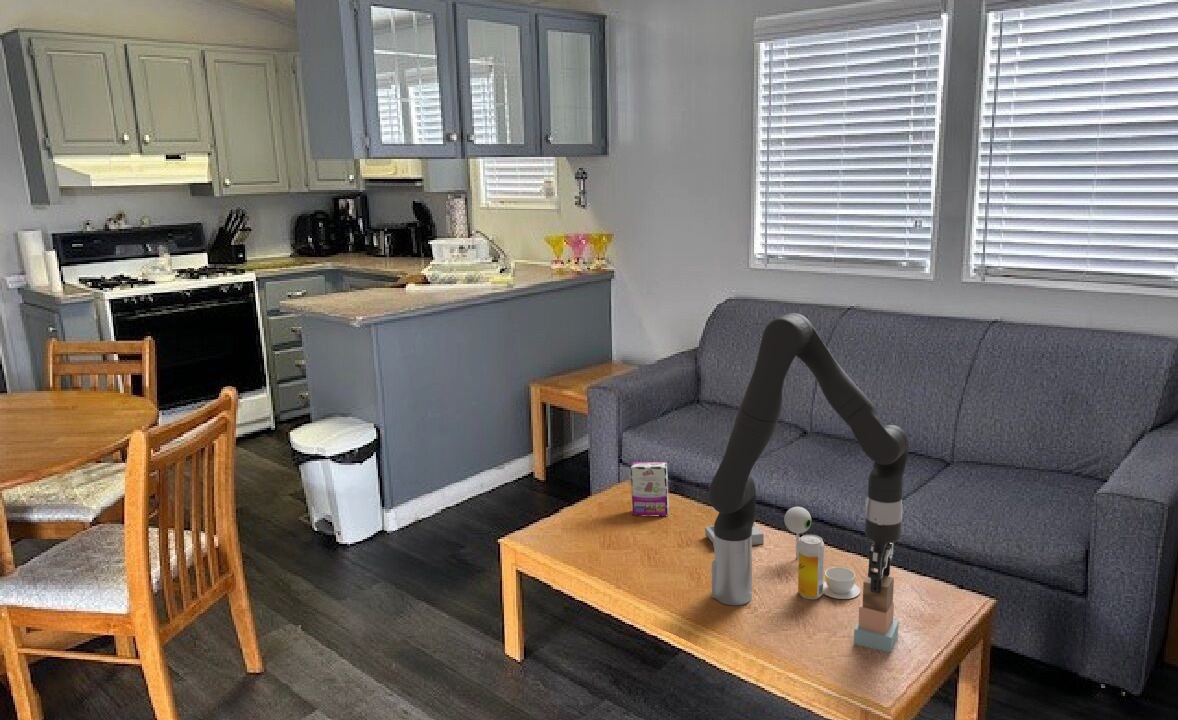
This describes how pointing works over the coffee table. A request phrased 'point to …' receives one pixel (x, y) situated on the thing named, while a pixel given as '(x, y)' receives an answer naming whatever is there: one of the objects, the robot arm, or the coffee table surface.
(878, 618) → the tower top
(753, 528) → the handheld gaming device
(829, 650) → the coffee table surface
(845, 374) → the robot arm
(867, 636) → the tower base
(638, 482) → the candy bar box
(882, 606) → the walnut block
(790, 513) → the lollipop
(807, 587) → the beer can
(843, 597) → the teacup
